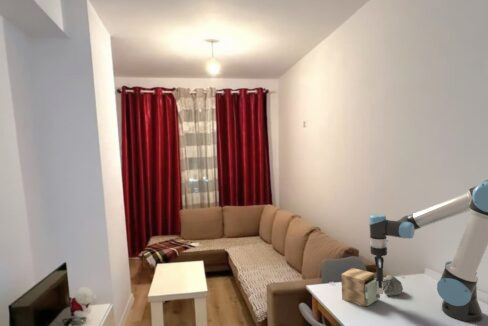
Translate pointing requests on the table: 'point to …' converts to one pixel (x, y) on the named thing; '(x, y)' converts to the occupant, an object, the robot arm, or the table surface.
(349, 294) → the cabinet
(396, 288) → the stone
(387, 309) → the table surface
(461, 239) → the robot arm
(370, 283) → the door
